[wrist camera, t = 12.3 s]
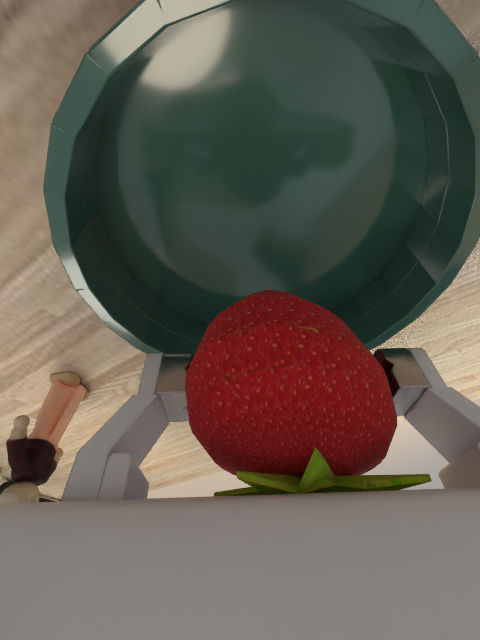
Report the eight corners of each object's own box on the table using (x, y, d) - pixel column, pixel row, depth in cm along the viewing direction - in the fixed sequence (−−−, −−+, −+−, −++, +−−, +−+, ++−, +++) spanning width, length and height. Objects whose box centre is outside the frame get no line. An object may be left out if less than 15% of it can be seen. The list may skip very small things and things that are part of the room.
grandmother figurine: (105, 399, 32) (59, 545, 23) (72, 403, 33) (13, 548, 24) (65, 356, 27) (-16, 524, 18) (25, 361, 27) (-74, 528, 18)
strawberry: (292, 184, 10) (455, 583, 3) (364, 315, 14) (497, 598, 7) (163, 270, 12) (76, 613, 5) (260, 360, 17) (285, 610, 10)
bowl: (368, 327, 25) (391, 377, 22) (135, 331, 25) (120, 382, 21) (528, -24, 12) (661, -43, 8) (7, -33, 11) (-97, -57, 7)
